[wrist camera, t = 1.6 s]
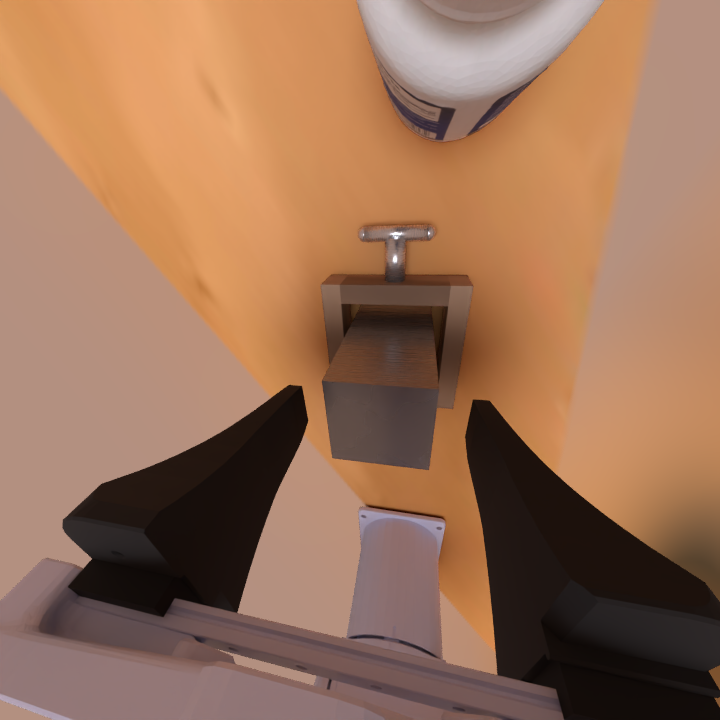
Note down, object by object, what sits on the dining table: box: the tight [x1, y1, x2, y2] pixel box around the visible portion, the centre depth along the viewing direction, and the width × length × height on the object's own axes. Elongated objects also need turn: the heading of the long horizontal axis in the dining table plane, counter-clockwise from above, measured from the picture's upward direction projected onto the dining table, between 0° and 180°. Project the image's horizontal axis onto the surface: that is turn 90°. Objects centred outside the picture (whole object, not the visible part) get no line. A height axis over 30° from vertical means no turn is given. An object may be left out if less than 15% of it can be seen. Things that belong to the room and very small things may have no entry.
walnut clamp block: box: [321, 225, 473, 409], centre depth 16 cm, size 10×7×2 cm
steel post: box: [322, 304, 439, 470], centre depth 14 cm, size 4×4×8 cm
